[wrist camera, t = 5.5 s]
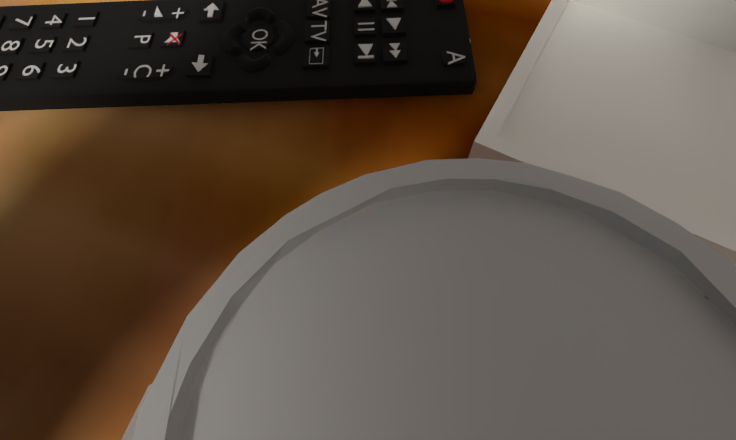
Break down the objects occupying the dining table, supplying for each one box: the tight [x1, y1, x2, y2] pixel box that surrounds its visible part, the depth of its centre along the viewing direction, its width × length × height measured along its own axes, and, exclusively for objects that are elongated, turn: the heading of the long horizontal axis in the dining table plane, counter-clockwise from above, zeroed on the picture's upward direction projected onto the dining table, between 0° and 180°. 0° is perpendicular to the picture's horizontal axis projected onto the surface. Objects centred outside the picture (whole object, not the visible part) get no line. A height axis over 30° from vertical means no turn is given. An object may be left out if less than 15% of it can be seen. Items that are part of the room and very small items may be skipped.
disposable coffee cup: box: [132, 158, 736, 440], centre depth 10 cm, size 10×10×12 cm
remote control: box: [0, 0, 476, 111], centre depth 23 cm, size 8×32×2 cm, turn 91°
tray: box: [468, 0, 736, 266], centre depth 19 cm, size 15×15×4 cm
